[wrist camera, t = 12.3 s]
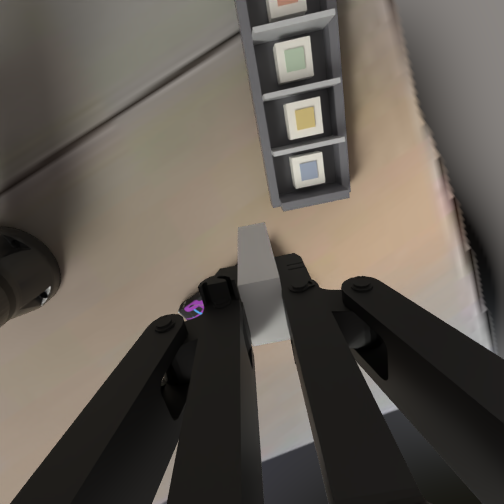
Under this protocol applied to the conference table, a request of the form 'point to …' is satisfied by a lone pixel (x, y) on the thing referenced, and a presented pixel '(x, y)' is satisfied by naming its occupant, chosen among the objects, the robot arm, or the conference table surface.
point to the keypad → (297, 99)
